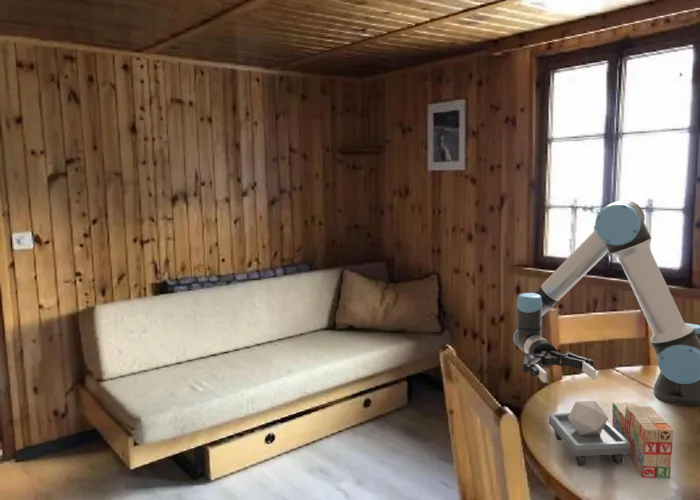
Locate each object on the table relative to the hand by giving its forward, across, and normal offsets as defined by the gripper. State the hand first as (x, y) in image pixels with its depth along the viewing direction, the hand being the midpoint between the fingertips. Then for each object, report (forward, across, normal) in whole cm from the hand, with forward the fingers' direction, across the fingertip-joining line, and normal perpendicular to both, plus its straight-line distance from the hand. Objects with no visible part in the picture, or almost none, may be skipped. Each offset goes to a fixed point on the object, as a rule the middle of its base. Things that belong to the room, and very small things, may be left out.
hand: (569, 376), depth 150 cm
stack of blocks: (+14, -11, -16) cm, 24 cm away
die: (+12, 0, -11) cm, 16 cm away
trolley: (+12, 0, -15) cm, 19 cm away
